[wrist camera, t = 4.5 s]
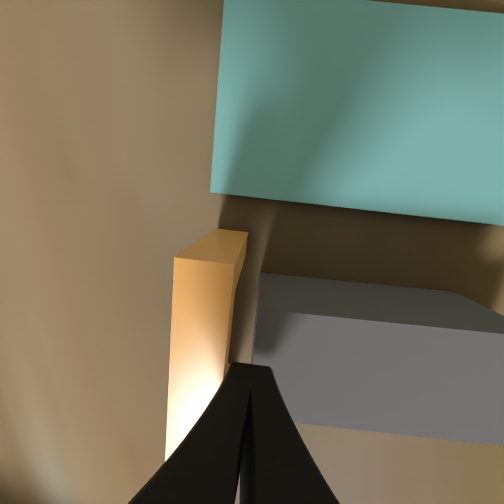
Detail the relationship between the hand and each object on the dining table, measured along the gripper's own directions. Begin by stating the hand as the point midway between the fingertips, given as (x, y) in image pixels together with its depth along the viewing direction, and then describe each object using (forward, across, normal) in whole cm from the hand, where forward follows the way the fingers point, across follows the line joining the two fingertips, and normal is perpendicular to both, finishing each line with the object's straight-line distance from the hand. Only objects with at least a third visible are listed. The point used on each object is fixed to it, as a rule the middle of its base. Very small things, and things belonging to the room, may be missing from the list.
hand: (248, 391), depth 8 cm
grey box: (+6, -5, 0) cm, 8 cm away
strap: (+6, +2, 0) cm, 6 cm away
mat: (+6, -5, -10) cm, 13 cm away
